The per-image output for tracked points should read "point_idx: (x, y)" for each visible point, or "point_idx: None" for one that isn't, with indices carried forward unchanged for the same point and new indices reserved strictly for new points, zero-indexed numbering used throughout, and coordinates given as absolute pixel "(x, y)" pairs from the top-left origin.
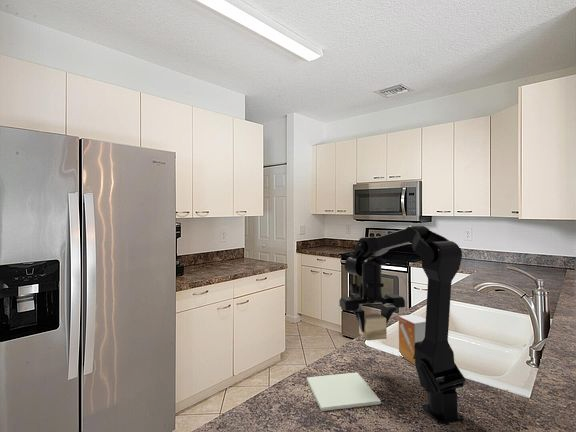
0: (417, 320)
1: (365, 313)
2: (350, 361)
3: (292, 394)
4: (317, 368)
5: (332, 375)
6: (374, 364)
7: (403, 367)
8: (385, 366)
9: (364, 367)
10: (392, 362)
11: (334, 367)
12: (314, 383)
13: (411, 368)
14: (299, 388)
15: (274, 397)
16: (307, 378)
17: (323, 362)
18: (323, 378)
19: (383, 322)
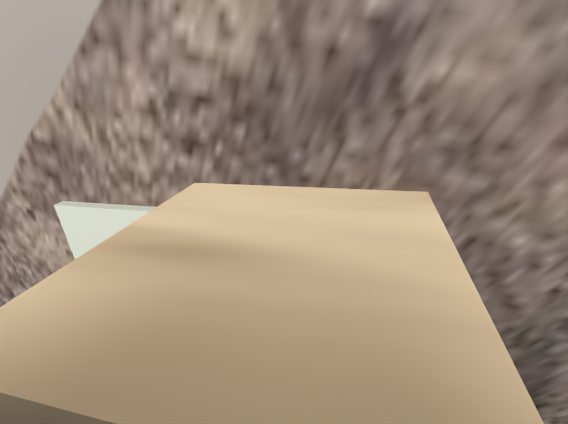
0: None
1: (71, 416)
2: (249, 58)
3: (41, 262)
4: (88, 112)
5: (138, 214)
6: (370, 125)
7: (518, 196)
8: (419, 162)
9: (300, 148)
10: (502, 120)
11: (159, 117)
12: (83, 248)
13: (556, 218)
14: (52, 240)
15: (4, 262)
16: (57, 211)
17: (110, 47)
18: (108, 227)
19: None
